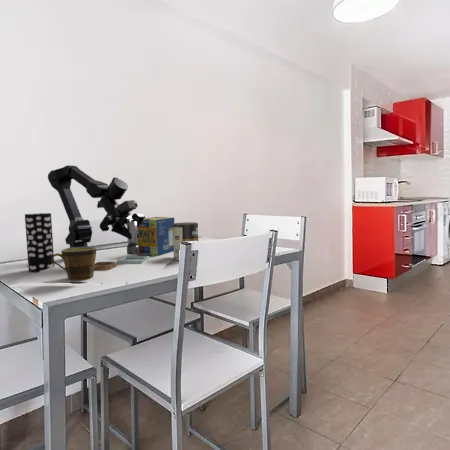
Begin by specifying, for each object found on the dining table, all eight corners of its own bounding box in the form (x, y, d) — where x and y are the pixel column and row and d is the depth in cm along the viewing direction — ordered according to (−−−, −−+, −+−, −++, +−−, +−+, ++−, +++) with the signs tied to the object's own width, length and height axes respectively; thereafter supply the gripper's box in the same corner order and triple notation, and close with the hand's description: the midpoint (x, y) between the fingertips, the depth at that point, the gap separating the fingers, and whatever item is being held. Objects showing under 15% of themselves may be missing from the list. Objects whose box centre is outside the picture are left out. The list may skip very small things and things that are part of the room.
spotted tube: (28, 273, 128) (24, 215, 126) (28, 269, 135) (24, 214, 134) (55, 270, 132) (51, 213, 130) (53, 266, 139) (50, 212, 137)
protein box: (136, 255, 161) (135, 219, 160) (156, 249, 175) (155, 216, 174) (157, 256, 157) (156, 219, 156) (176, 250, 171) (174, 216, 170)
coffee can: (202, 256, 155) (201, 222, 154) (195, 260, 145) (194, 224, 143) (178, 255, 157) (177, 222, 156) (169, 260, 147) (168, 224, 146)
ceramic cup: (90, 276, 122) (88, 245, 121) (103, 281, 114) (101, 248, 113) (48, 283, 113) (46, 250, 112) (59, 288, 106) (56, 253, 105)
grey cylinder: (127, 254, 139) (126, 222, 138) (126, 253, 143) (125, 221, 142) (139, 254, 140) (138, 222, 139) (138, 252, 144) (137, 221, 143)
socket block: (90, 272, 126) (90, 265, 126) (99, 268, 133) (98, 261, 133) (109, 272, 126) (109, 265, 126) (117, 268, 132) (116, 261, 132)
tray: (116, 266, 137) (116, 260, 137) (126, 261, 147) (125, 256, 147) (142, 265, 136) (141, 260, 136) (149, 261, 146) (149, 256, 146)
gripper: (103, 193, 133) (127, 225, 129) (140, 192, 149) (162, 221, 145) (89, 215, 138) (112, 246, 133) (126, 212, 154) (147, 240, 149)
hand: (135, 237), depth 140 cm, fingers closed on grey cylinder, 4 cm apart
